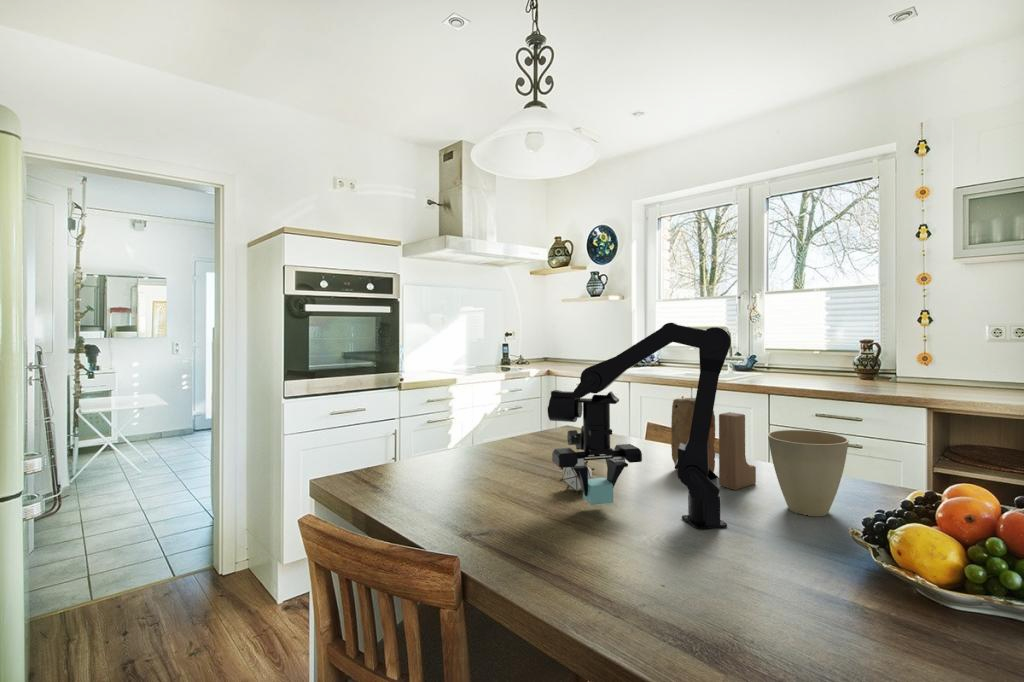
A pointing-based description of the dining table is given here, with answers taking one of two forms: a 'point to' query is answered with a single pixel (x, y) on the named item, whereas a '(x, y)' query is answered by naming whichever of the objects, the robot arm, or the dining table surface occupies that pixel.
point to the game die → (574, 477)
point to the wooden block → (733, 453)
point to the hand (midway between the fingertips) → (597, 494)
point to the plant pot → (808, 468)
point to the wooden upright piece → (688, 428)
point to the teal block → (599, 491)
